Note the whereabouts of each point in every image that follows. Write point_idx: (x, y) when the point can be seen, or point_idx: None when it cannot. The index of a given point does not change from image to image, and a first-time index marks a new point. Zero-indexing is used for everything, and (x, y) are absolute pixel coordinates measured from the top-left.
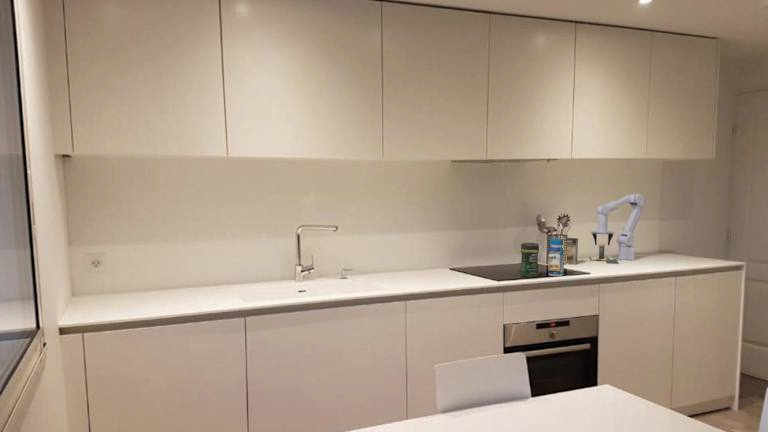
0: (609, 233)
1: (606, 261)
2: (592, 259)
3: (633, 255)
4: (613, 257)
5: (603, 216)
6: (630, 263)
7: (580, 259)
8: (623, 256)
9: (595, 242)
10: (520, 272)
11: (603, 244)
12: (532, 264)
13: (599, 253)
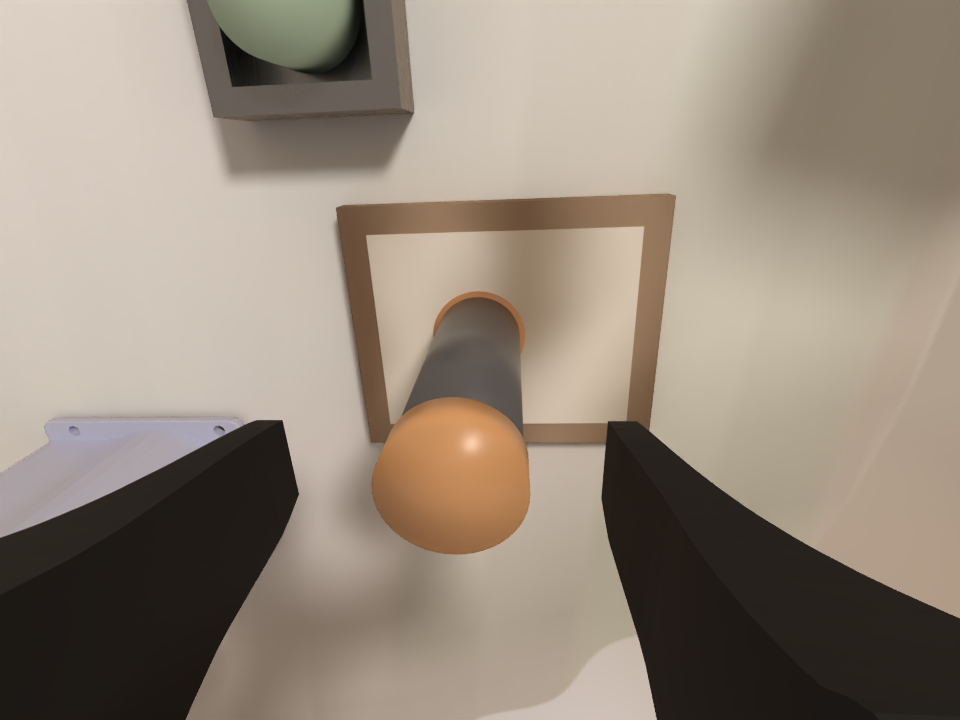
0: None
1: (405, 52)
2: (643, 206)
3: (11, 473)
4: (237, 8)
5: None
6: (14, 56)
7: (815, 303)
8: (157, 453)
9: (674, 453)
10: None
11: (405, 434)
12: None
13: (514, 349)
